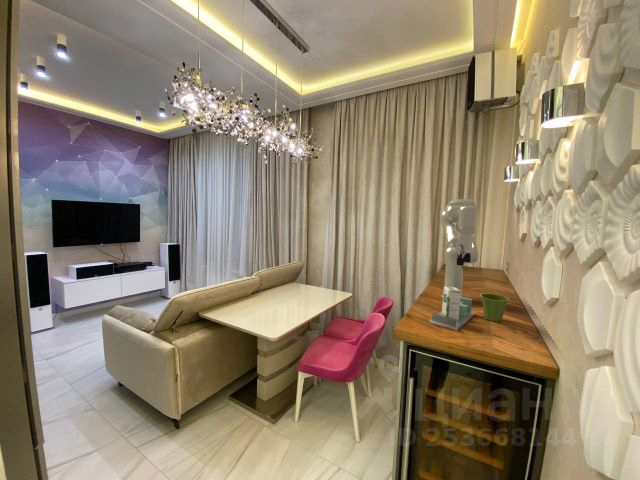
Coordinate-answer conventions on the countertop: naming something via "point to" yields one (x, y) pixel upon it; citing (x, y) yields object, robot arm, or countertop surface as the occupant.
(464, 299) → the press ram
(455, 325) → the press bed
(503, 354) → the countertop surface
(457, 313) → the syrup box
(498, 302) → the plant pot
